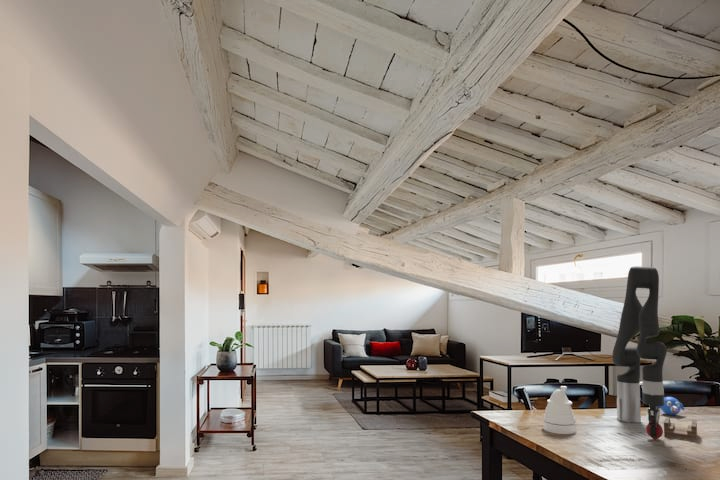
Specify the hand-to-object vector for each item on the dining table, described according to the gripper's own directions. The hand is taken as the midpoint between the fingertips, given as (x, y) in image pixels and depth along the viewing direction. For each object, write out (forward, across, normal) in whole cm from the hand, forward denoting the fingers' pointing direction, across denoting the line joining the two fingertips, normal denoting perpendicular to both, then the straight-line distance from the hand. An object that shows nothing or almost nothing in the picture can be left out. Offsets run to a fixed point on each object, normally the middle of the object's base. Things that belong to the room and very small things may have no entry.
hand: (654, 434), depth 209 cm
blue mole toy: (+2, -55, +3) cm, 55 cm away
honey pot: (+2, +7, -34) cm, 35 cm away
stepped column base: (+2, -14, +8) cm, 16 cm away
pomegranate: (+2, 0, 0) cm, 2 cm away
